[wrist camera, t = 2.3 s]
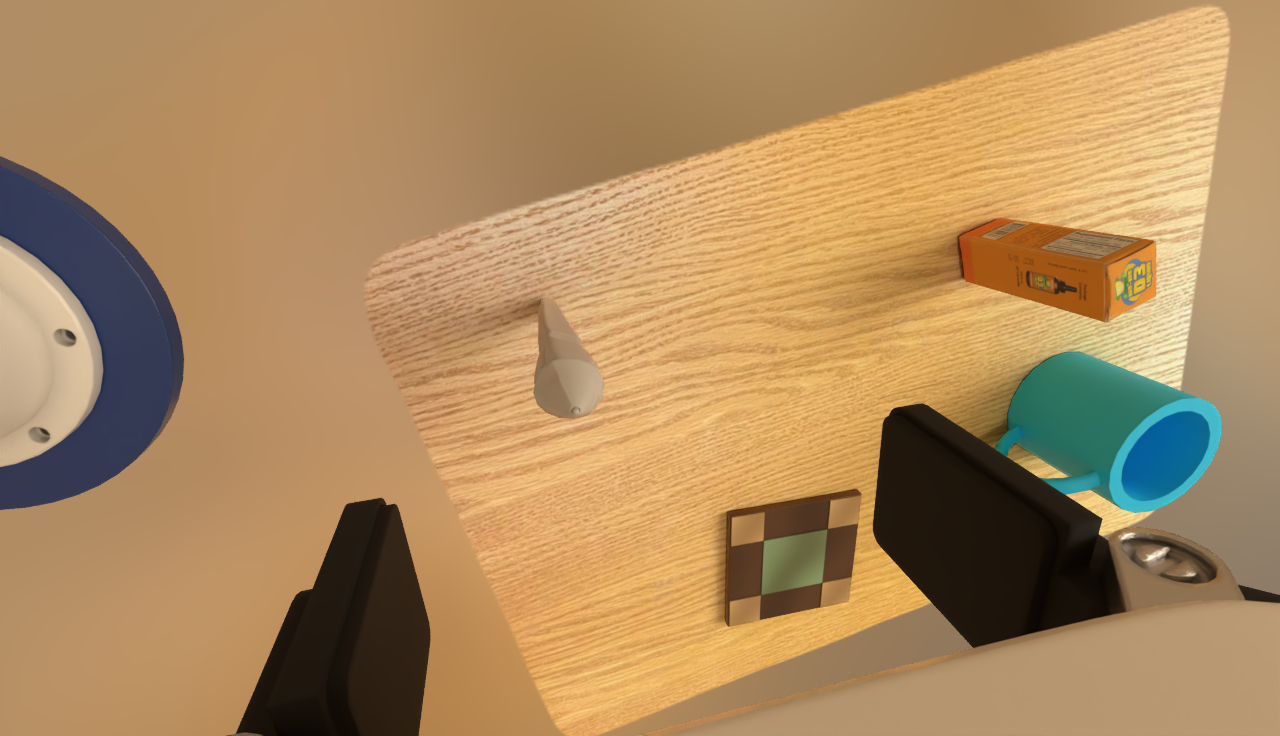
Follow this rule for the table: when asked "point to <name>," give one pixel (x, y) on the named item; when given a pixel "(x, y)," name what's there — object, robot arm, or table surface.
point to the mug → (1112, 431)
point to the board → (790, 556)
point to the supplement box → (1062, 266)
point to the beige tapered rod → (564, 367)
